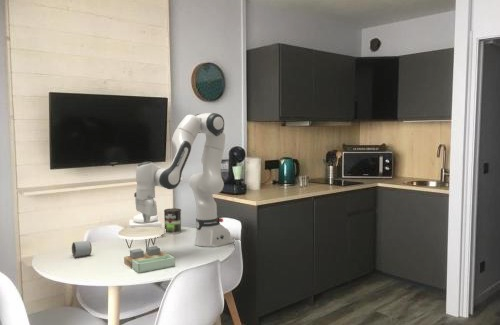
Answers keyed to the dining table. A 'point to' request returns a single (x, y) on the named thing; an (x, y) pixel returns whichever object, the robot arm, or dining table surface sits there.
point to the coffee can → (172, 220)
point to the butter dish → (139, 222)
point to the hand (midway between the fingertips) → (146, 222)
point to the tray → (153, 263)
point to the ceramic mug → (81, 248)
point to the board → (129, 260)
